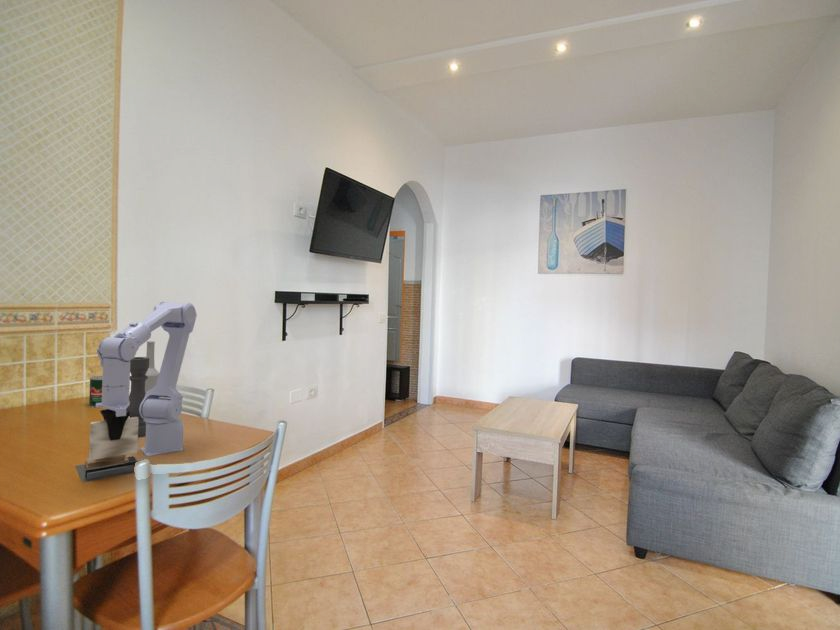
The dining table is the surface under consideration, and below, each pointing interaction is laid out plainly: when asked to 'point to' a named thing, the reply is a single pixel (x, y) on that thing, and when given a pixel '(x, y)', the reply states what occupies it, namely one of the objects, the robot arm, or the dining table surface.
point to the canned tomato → (95, 391)
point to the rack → (106, 470)
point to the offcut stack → (105, 461)
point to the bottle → (151, 367)
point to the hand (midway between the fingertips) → (114, 438)
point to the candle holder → (138, 390)
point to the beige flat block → (107, 448)
